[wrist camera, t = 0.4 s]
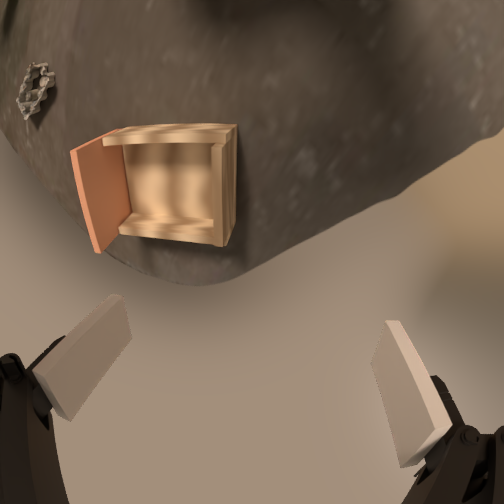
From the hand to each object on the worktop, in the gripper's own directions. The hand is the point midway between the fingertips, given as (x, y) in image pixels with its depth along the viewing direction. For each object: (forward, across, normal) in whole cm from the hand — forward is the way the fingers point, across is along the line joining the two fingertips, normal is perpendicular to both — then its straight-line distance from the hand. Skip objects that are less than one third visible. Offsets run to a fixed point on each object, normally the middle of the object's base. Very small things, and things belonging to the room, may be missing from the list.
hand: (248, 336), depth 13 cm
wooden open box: (+31, -15, +5) cm, 35 cm away
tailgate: (+30, -25, +6) cm, 39 cm away
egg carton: (+26, -45, +25) cm, 58 cm away
